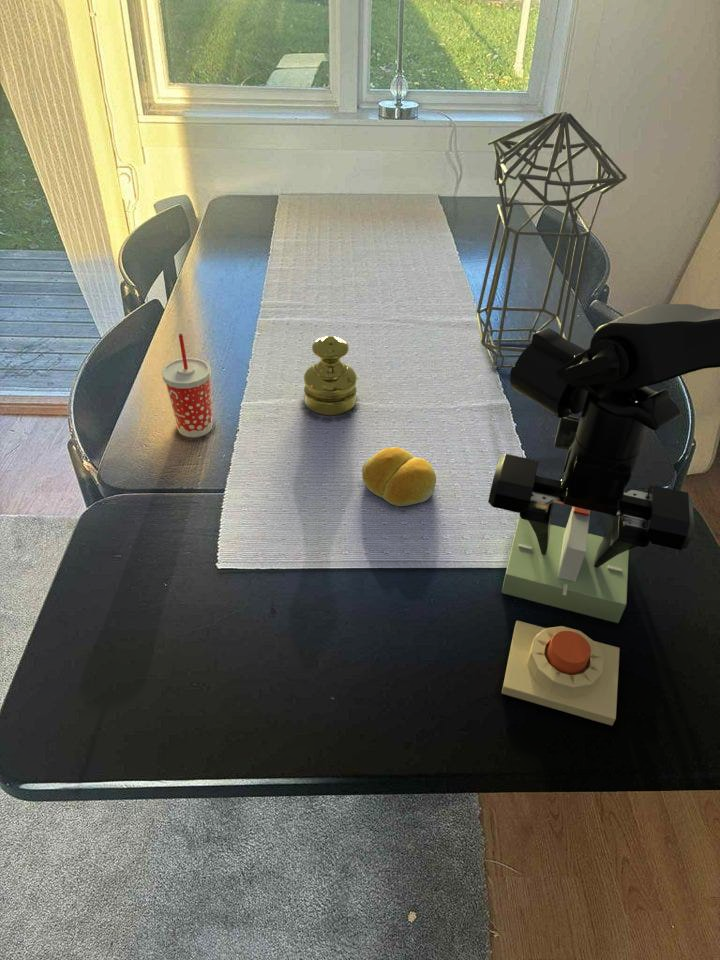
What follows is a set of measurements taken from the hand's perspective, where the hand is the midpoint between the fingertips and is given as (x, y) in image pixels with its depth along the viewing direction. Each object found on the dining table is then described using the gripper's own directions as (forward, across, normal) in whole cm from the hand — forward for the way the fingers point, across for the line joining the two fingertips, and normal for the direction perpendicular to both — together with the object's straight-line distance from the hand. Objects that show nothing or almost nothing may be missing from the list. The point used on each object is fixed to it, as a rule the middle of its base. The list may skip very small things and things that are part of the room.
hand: (569, 557), depth 74 cm
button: (0, -1, +12) cm, 13 cm away
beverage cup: (+3, +50, -11) cm, 51 cm away
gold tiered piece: (+3, +35, -23) cm, 42 cm away
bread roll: (+3, +21, -9) cm, 23 cm away
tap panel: (+3, 0, 0) cm, 3 cm away
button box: (+3, -1, +12) cm, 13 cm away
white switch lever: (0, 0, 0) cm, 0 cm away
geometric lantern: (+3, +12, -44) cm, 46 cm away
